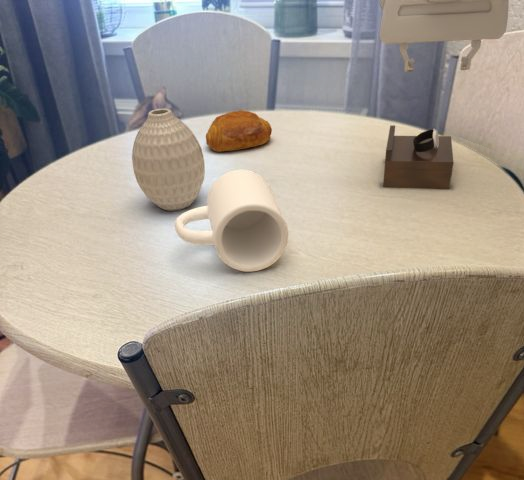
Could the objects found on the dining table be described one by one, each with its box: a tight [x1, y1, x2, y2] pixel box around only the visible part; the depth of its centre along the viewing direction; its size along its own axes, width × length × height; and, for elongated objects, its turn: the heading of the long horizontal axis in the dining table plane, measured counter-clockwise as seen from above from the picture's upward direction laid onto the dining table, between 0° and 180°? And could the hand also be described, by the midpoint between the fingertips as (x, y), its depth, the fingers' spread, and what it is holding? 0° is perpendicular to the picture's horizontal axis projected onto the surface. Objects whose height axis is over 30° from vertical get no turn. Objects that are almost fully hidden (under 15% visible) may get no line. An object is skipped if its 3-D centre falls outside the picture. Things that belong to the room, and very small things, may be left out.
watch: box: [413, 128, 440, 152], centre depth 100 cm, size 8×5×4 cm, turn 158°
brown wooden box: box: [382, 124, 454, 190], centre depth 103 cm, size 12×14×7 cm
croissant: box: [205, 109, 273, 153], centre depth 124 cm, size 14×16×8 cm
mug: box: [174, 169, 289, 273], centre depth 82 cm, size 16×14×11 cm
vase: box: [131, 108, 206, 212], centre depth 96 cm, size 13×13×17 cm
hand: (436, 70), depth 93 cm, fingers open, 8 cm apart
